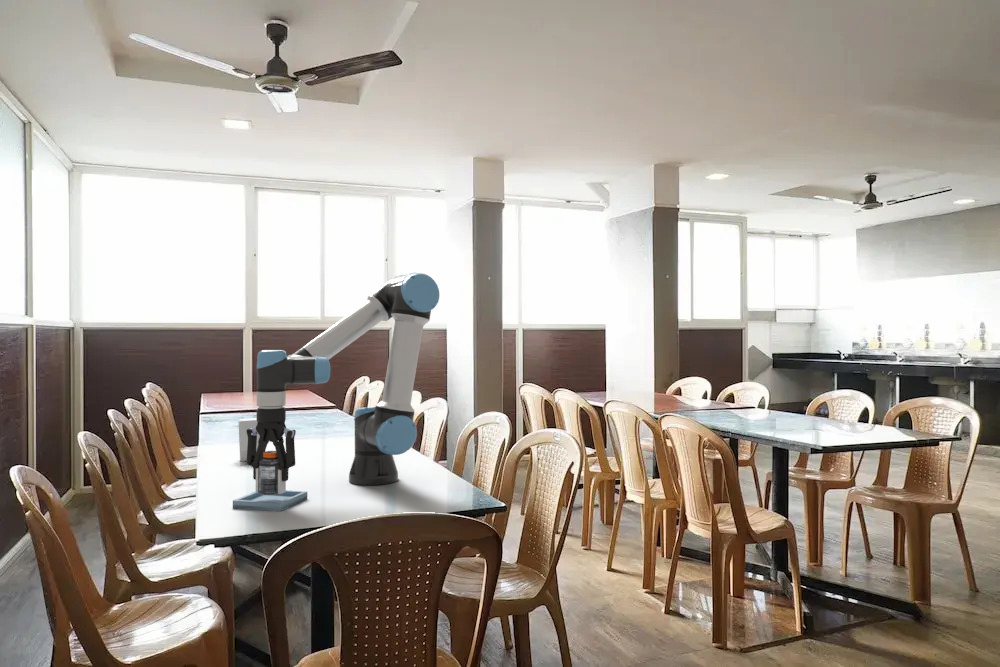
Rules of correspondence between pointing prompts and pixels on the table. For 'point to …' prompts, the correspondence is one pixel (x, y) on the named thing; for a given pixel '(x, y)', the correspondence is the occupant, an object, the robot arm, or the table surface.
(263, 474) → the pill bottle
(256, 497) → the tray
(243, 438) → the skincare box
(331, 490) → the table surface
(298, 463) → the table surface
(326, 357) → the robot arm
